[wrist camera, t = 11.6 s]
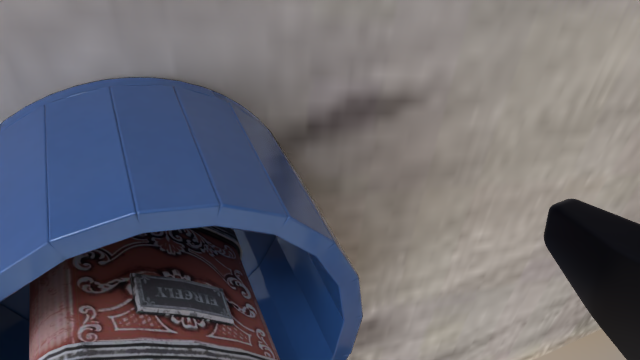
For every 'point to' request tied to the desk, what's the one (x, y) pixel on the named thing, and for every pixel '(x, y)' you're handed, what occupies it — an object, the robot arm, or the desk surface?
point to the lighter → (151, 302)
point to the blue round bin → (168, 203)
